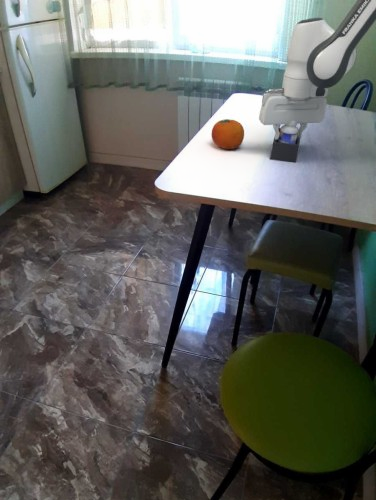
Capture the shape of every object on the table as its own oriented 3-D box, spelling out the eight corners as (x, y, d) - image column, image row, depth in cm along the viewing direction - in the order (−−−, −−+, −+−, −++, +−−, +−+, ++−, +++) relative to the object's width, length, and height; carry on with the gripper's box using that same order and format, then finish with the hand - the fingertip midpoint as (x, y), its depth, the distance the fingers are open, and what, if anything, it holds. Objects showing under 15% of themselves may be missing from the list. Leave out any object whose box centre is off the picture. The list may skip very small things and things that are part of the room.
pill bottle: (272, 151, 131) (278, 118, 124) (283, 148, 134) (289, 115, 127) (286, 156, 128) (292, 122, 121) (297, 152, 131) (304, 119, 124)
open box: (297, 146, 139) (301, 130, 136) (295, 162, 128) (299, 145, 125) (273, 143, 141) (276, 127, 137) (269, 159, 130) (272, 142, 126)
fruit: (246, 145, 138) (249, 119, 133) (237, 155, 131) (240, 128, 126) (216, 139, 141) (218, 114, 135) (206, 149, 134) (208, 122, 128)
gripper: (268, 91, 114) (260, 143, 124) (333, 89, 118) (321, 140, 128) (259, 86, 119) (252, 136, 128) (323, 84, 123) (312, 133, 132)
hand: (287, 138), depth 128 cm, fingers closed on pill bottle, 5 cm apart
